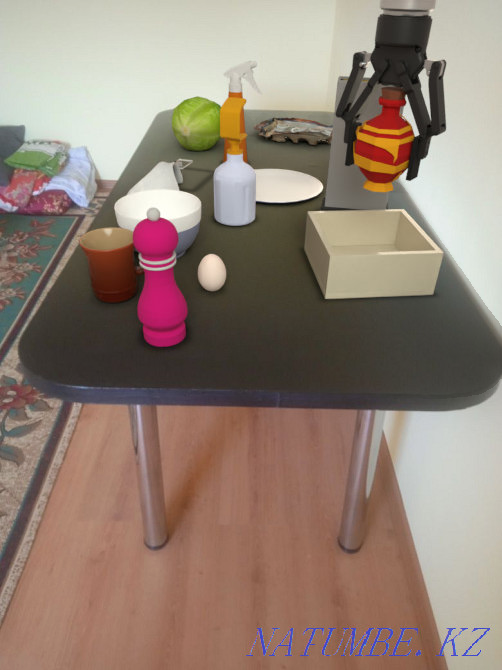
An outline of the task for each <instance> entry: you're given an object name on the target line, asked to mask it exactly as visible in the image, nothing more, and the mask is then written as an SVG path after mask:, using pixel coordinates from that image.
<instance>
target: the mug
mask: <svg viewBox="0 0 502 670" xmlns="http://www.w3.org/2000/svg"><path fill="white" fill-rule="evenodd" d="M78 243H79V246H80V248H81V250H82V251H83V254H84V256H85V258H86V261H87V266H88V274H89V281H90V286H91V289H92V292H93V294H94V296H95V298H96V299H97V300H99V301H101V302H103V303H107V304H120V303H124V302H127V301H128V300H131V298H133V297H134V296H135V295H136V294H137V292H138V277H139V276H142V275H145V272H144V268H142V267H141V266H140V265H136V263H135V256H134V255H135V254H134V253H135V249H136V248H135V246H134V243H133V232H132V231H130V230H128V229H124V228H119V227H118V226H117V227H116V226H115V227H112V226H110V227H109V226H108V227H101V228H96V229H92V230H90V231H87V232H85V233H84V234H82V235H81V236H80V237H79V239H78Z"/></svg>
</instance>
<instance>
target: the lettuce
mask: <svg viewBox="0 0 502 670" xmlns="http://www.w3.org/2000/svg"><path fill="white" fill-rule="evenodd" d="M221 107H222V105H220V104H219V103H217V102H216V101H213V100H211V99H208V98H206V97H202V96H198V95H197V96H194V97H190V98H187V99H184V100H182V101H181V102H180V103H179V104H177V106H175V107H174V108H173V111H172V115H171V130H172V132H173V134H174V137H175V138H176V139H177V141H178V143H179V144H180V145H181V146H182V147H183V148H184V149H185V150H187V151H193V152H195V151H196V152H200V151H207V150H211V149H212V148H213V147H214V146H215V145H216V144H217V143H218V142H219V141H220V140H222V138H221V136H220V109H221Z"/></svg>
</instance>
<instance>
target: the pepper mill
mask: <svg viewBox="0 0 502 670" xmlns="http://www.w3.org/2000/svg"><path fill="white" fill-rule="evenodd" d="M146 215H147V218H146V219H144V220H142V221H140V222H139V223H138V224H137V225H136V227H135V228H134V231H133V243H134V246H135V248H136V249H137V250H138V251H139V252H140V253H138V259H139V262H138V263H139V266H141V267H142V268H144V272H145V273H144V282H143V284H144V285H143V287H142V291H141V293H140V296H139V298H138V303H137V317H138V319H139V322H140V323H141V324H143V325H142V332H143V338H144V341H146V343H147V344H149V345H151V346H153V347H158V348H168V347H172V346H176V345H178V344H179V343H181V342H183V340H185V337H186V335H187V330H186V329H187V328H186V323H185V322H186V321H185V320H186V319H187V317H188V312H189V310H188V309H189V308H188V303H187V301H186V298H185V295H184V294H183V292H182V291H181V290H180V288H179V286H178V284H177V282H176V279H175V273H174V266H175V265H176V264H177V259H176V258H175V257H176V253H175V251H174V250H175V249H176V247H177V245H178V239H179V237H178V232H177V230H176V228H175V226H174V225H173V224H172V223H171V222H170V221H169V220H167V219H165V218H161V217H160V211H159V210H158V209H157V208H150V209H148V211H147V214H146Z"/></svg>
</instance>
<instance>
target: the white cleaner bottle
mask: <svg viewBox="0 0 502 670" xmlns="http://www.w3.org/2000/svg"><path fill="white" fill-rule="evenodd" d="M247 102H248V101H247V99H246V98H244V97H243V98H234V97H229V98H228V97H227V98H226V99H225V100H224V102H223V103H222V104H221V109H220V136H221V139H224V140H225V139H228V142H229V143H231V148H230V149H227V161H226V162H225V163H223V162H222V163H221V164H220V165H218V166H217V167H216V168H215V169H214V173H213V208H214V209H213V210H214V212H213V213H214V220H215V221H216V222H217V223H220V224H222V225H226V226H232V227H239V226H241V227H242V226H245V225H248V224H251V223H253V222H254V221H255V220H256V203H257V202H256V173H255V169H254V168H253V167H252V166H251V165H249V163H248V162H247V163H245V162H244V161H243V150H242V149H240V148H239V143H241V142H242V140H243V139H244V138H246V139H247V137H248V134H247V133H246V134H244V133H240V113H241V110H242V108H243V107H245V106H246V104H247Z"/></svg>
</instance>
